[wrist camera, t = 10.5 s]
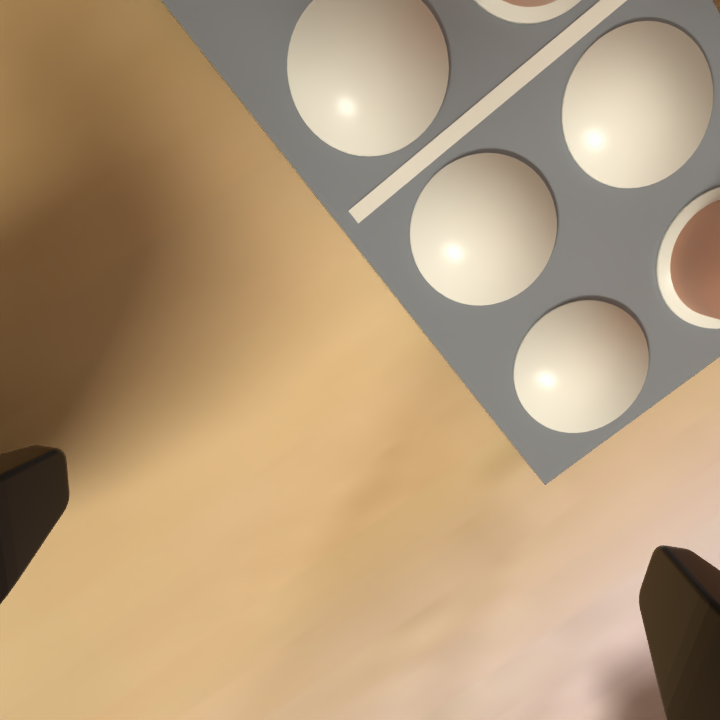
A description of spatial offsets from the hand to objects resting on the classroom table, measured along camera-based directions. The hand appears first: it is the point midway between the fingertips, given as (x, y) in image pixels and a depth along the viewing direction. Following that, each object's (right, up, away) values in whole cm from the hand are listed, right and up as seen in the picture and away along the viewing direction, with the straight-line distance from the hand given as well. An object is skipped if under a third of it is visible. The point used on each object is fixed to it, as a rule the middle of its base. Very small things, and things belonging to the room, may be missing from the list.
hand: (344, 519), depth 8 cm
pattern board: (+5, +11, +10) cm, 16 cm away
